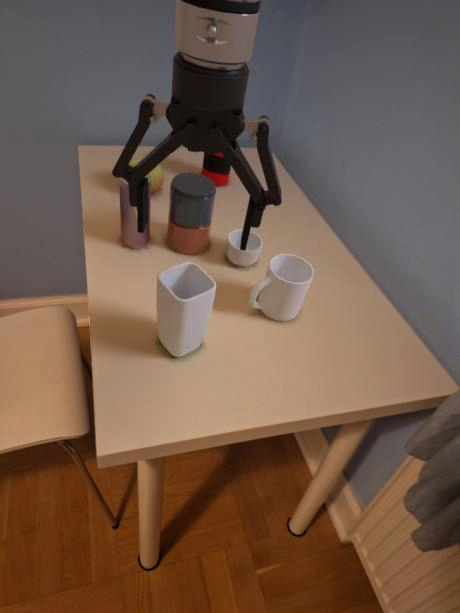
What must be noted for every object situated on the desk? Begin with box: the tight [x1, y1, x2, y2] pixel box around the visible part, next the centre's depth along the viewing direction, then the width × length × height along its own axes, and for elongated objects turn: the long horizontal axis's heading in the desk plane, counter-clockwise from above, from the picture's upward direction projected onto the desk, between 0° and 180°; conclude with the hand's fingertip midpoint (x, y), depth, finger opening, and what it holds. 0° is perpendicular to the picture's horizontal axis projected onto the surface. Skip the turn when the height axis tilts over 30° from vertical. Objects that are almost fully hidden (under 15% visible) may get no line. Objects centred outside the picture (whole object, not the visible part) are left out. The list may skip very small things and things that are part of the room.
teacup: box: [225, 228, 264, 267], centre depth 88 cm, size 10×8×5 cm
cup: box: [155, 261, 217, 358], centre depth 65 cm, size 7×7×15 cm
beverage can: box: [118, 175, 152, 249], centre depth 83 cm, size 6×6×15 cm
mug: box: [248, 253, 315, 322], centre depth 76 cm, size 12×8×10 cm
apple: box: [128, 157, 165, 195], centre depth 100 cm, size 10×10×8 cm
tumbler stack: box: [166, 172, 217, 256], centre depth 86 cm, size 9×9×14 cm
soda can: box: [201, 152, 232, 187], centre depth 108 cm, size 8×8×12 cm
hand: (193, 236), depth 54 cm, fingers open, 13 cm apart
